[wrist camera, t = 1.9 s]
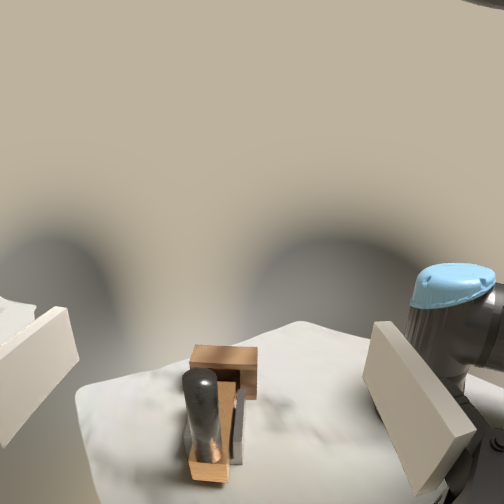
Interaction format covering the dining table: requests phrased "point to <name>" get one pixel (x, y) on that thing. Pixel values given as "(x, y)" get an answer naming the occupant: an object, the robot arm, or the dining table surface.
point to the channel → (237, 432)
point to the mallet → (209, 423)
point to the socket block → (229, 365)
